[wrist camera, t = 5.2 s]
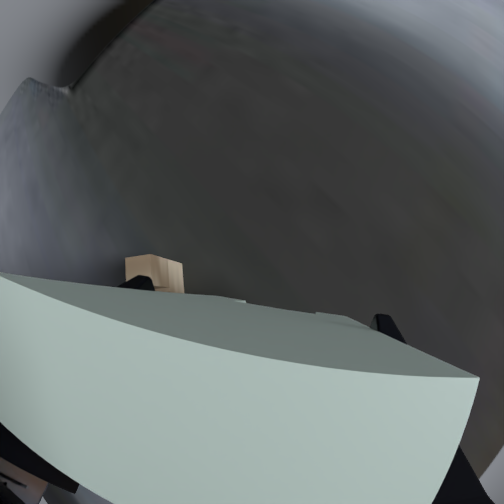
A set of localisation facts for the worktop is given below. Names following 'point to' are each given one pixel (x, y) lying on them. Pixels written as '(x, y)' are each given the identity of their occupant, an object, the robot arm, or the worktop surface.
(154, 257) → the beige long bar piece
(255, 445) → the sage block
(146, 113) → the worktop surface
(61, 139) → the worktop surface
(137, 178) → the worktop surface
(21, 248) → the worktop surface
